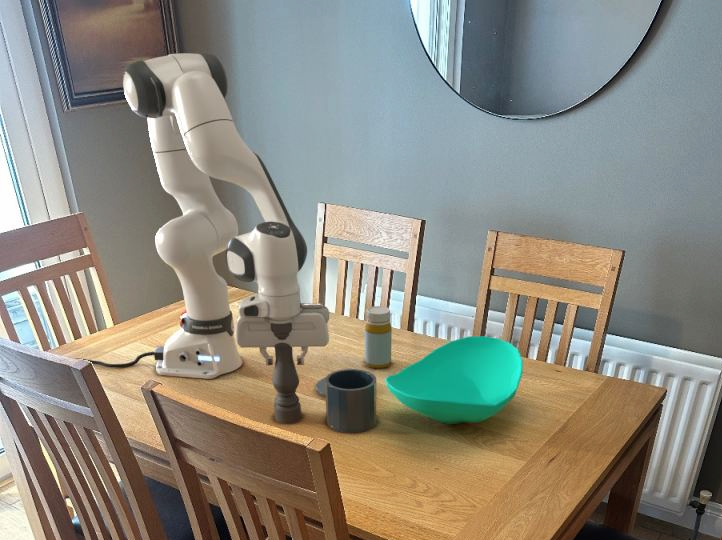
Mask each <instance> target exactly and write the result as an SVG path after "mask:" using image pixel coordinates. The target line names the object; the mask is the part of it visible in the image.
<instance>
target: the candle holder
mask: <svg viewBox="0 0 722 540" xmlns="http://www.w3.org/2000/svg"><path fill="white" fill-rule="evenodd" d="M271 330H272V332H273V333H274V336H276V337H277V338H278V340H286V338H287V337H288V336H289V333H290V332H291V330H292V323H291V322H290V323H285V324H274V323H271ZM273 348H274V352H275V353H274V356H275V361H274V366H273V367H274V368H273V372H272V379H271V382H272V385H273V388H274V389H275V391H276V396H275V398H274V404H273V409H274V410H273V411H274V419H275V421H276V422H277V423H280V424H282V425H283V424H284V425H290V424H295V423H298V422H299V421H301V419H302V407H301V406H302V405H301V402H300V398H299V395H298V394H297V389H298V387H299V384H300V378H299V375H298V371H297V369H296V364H295V362H294V354H293V353H294V352H293V347H290V345H289V344H287V343H283V342H282V343H278V344H276V345H275V347H273Z"/></svg>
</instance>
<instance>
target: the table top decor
mask: <svg viewBox="0 0 722 540" xmlns="http://www.w3.org/2000/svg"><path fill="white" fill-rule="evenodd" d="M523 366H524V361H523V357H522V355H521V353H520V351H519V349H518V348H517V347H515V346H514V345H513V344H512V343H511V342H510V341H506V340H503V339H501V338H498V337H491V336H487V335H486V336H485V335H484V336H483V335H482V336H481V335H472V336H471V335H470V336H466V337H461V338H457V339H454V340H451V341H449V342H447V343H445V344H443V345H441V346H439V347H437V348H435V349H434V350H432V351H431V352H430V353H428V354H427V355H425V356H424V357H422V358H421V359H420V360H418V361H416V362H414V363H412V364H409V365H408V366H406V367H405V368H403V369H401V370H400V371H399V372H397V373H396V374H391V375H390V374H389V375H387V376H386V377H385V379H384V382H385V384H386V387H387V390H388V391H389V392H390V394H391V395H392V396H394V397H395V399H397V401H399V402H400V403H401V404H402V405H404V406H406V407H407V408H409V409H411V410H412V411H415V412H416V413H419V414H421V415H423V416H425V417H427V418H430V419H432V420H434V421H436V422H438V423H441V424H445V425H457V424H461V423H469V424H475V423H481V422H483V421H485V420H487V419H489V418H491V417H493V416H494V415H496V414H498V413H500V412H501V411H502V410H503V409H504V408H505V407H506V406H507V405H508V404H509V403H510V402H511V401H512V400H513V399H514V398H515V396H516V394H517V392H518V389H519V386H520V383H521V379H522V376H523V370H524V369H523V368H524V367H523Z"/></svg>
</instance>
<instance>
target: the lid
mask: <svg viewBox="0 0 722 540" xmlns="http://www.w3.org/2000/svg"><path fill="white" fill-rule="evenodd" d="M338 370H339V369H338ZM338 370H336V371H338ZM325 378H326V377H323V378H321V379H320V380H318V381H316V384H315V390H316V392H317V393H318V394H320V395H321V396H324V397H326V394H325Z"/></svg>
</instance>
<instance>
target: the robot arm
mask: <svg viewBox="0 0 722 540" xmlns="http://www.w3.org/2000/svg"><path fill="white" fill-rule="evenodd" d="M122 85H123V86H122V87H123V92H124V95H125V98H126V100H127V102H128V105H129V107H130V109H131V110H132V112H134V113H135V114H136V115H138V116H139V117H141V118H146V119H147V125H148V131H149V132H148V133H149V138H150V143H151V148H152V152H153V156H154V159H155V164H156V167H157V172H158V175H159V180H160V183H161V186H162V188H163V190H164V191H165V192H166V193H167V194H169V195H170V196H172V197H173V198H174V199H175V200H176V202H177V204H178V206H179V207H180V209H181V212H182V215H180V216H177V217H175V218H172V219H170V220H168V222H166V223H165V224H164V225H162V226H161V228H159V230H158V231H157V232H156V235H155V239H154V241H155V249H156V251H157V254H158V255H159V257H160V258H161V260H162V261H163V262H164V263H165V264H167V265H168V266H170V267H171V268H172V269H173V270H174V272H175V274H176V275H177V278H178V281H179V282H180V285H181V288H182V294H183V299H184V305H185V309H183V310H182V311H181V313H180V317H179V326H180V327H181V328H179V329H178V330H177V331H176V332H175V333H173V334H172V335H171V336H170V337H169V338H168V339H167V340H166V342H165V344H164V346H163V345H162V346H161V345H158V346H157V347H156V349H154V351H149V352H144V353H141V354H139V355H137V356H136V358H135V359H134V360H133V361H130V362H127V363H107V362H104V361H100V360H93V359H87V358H82V359H83V360H88V361H90V362H92V365H97V366H98V365H99V366H102V367H106V368H112V369H113V368H116V369H117V368H127V367H132V366H134V365H136V364H138V363H139V361H140V360H141V359H143V358H146V357H149V356H150V357H151V356H153V357H154V360H155V361H157V362H156V365H155V370H156V373H157V374H158V375H159V376H160V375H161V376H169V377H180V378H181V377H182V378H194V379H205V380H206V379H207V380H212V379H216V378H217V377H219V376H221V375H224V374H227V373H232V372H234V371H236V370H237V369H239V368H240V367H241V366H242V365H243V359H242V358H241V355H240V353H239V350H238V347H240V348H243V349H244V348H245V349H247V348H259V353H260V354H261V356H262V357H263V358H264V359H265V366H274V356H273V355H269V352H268V351H267V349H268V348H274V347H275V345H276V344H278V343H282V342H283V343H287V344H289V345H290V347H292V348H300V351H301V354H299V355H297V356H296V365H297V366H304V365H305V357H306V356H307V353H308V351H309V348H311V347H312V348H313V347H314V348H317V347H319V348H320V347H326V346H327V345H328V344H329V341H330V332H329V325H328V322H329V321H330V310H329V308H328V307H327V306H326V305H323V304H322V303H321V302H315V303H309V302H307V303H306V302H305V303H304V302H303V303H302V302H301V301H302V300H301V287H300V284H299V281H298V274H299V272H300V271H301V270H302V268H303V266H304V264H305V262H306V260H307V256H308V246H307V242H306V240H305V238H304V237H303V235H302V233H301V231H300V230H299V229H298V227H297V226H296V224H295V222H294V221H293V219H292V217H291V216H290V214H289V210H288V209H287V207H286V205H285V203H284V201H283V199H282V197H281V195H280V193H279V190H278V189H277V186H276V184H275V182H274V180H273V179H272V176H271V174H270V172H269V170H268V169H267V167H266V165H265V163H264V161H263V160H262V158H261V157H260V156H259V155H258V154H257V153H256V152H254V151H252V149H250V148H249V146H248V145H247V144H246V143H245V141H244V140H243V139H242V137H241V135H240V133H239V132H238V130H237V127H236V125H235V122H234V119H233V117H232V114H231V112H230V109H229V106H228V104H227V102H226V100H225V99H226V97H227V96H228V95H227V94H228V86H229V85H228V79H227V73H226V70H225V67H224V65H223V63H222V62H221V61H220V60H219V58H218V57H217V55H215V54H212V53H209V52H203V51H202V52H201V51H197V52H196V53H190V52H189V53H188V52H187V53H170V54H168V55H163V56H158V57H153V58H149V59H146V60H142V59H139V60H135V61H133V62H130V63H129V64H127V65H126V66H125V68H124V71H123V74H122ZM211 178H213V179H216V180H220V181H224V182H228V183H230V184H234V185H236V186H239V187H241V188H243V189H244V190H245V191H247V192H248V193H249V194H250V196H252V199H253V200H254V202H255V204H256V206H257V209H258V210H259V213H260V215H261V216H262V218H263V220H264V222H260V223H258V224H257V225H255V226H254V228H253V230H252V231H249V232H246V233H242V234H240V235H239V225H238V221H237V218H236V216H235V215H234V214H233V212H231V211H230V210H229V209H228V208H226V207H225V206H224V205H223V203H222V202H221V199H220V198H219V197H218V195H217V193H216V191H215V189H214V187H213V184H212V181H211ZM224 251H225V262H226V266H227V269H228V272H229V273H230V274H231V275H232V276H233V277H234V278H235V279H236V280H238V281H240V282H242V283H243V282H244V283H256V284H257V286H258V288H257V290H258V291H257V293H256V294H252V295H250V296H246V297H244V298H243V299H242V300H241V301H240V303H239V305H238V315H239V316H238V317H237V318H238V319H237V321H236V326H235V323H234V321H235V320H234V317H233V312H232V310H231V306H230V298H229V297H230V296H229V289H228V283H227V281H226V280H225V278H223V276H221V275H219V274H218V273H217V271H216V268H215V266H214V261H213V257H214V256H217V255H219V254H220V253H222V252H224ZM290 322H291V323H292V330H291V332H290V333H289V336H288V337H287V338H286V340H278V338H277V337H276V336H274V333H273V332H272V330H271V323H274V324H285V323H290ZM237 345H238V346H237ZM75 359H81V358H77V357H76V358H75Z"/></svg>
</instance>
